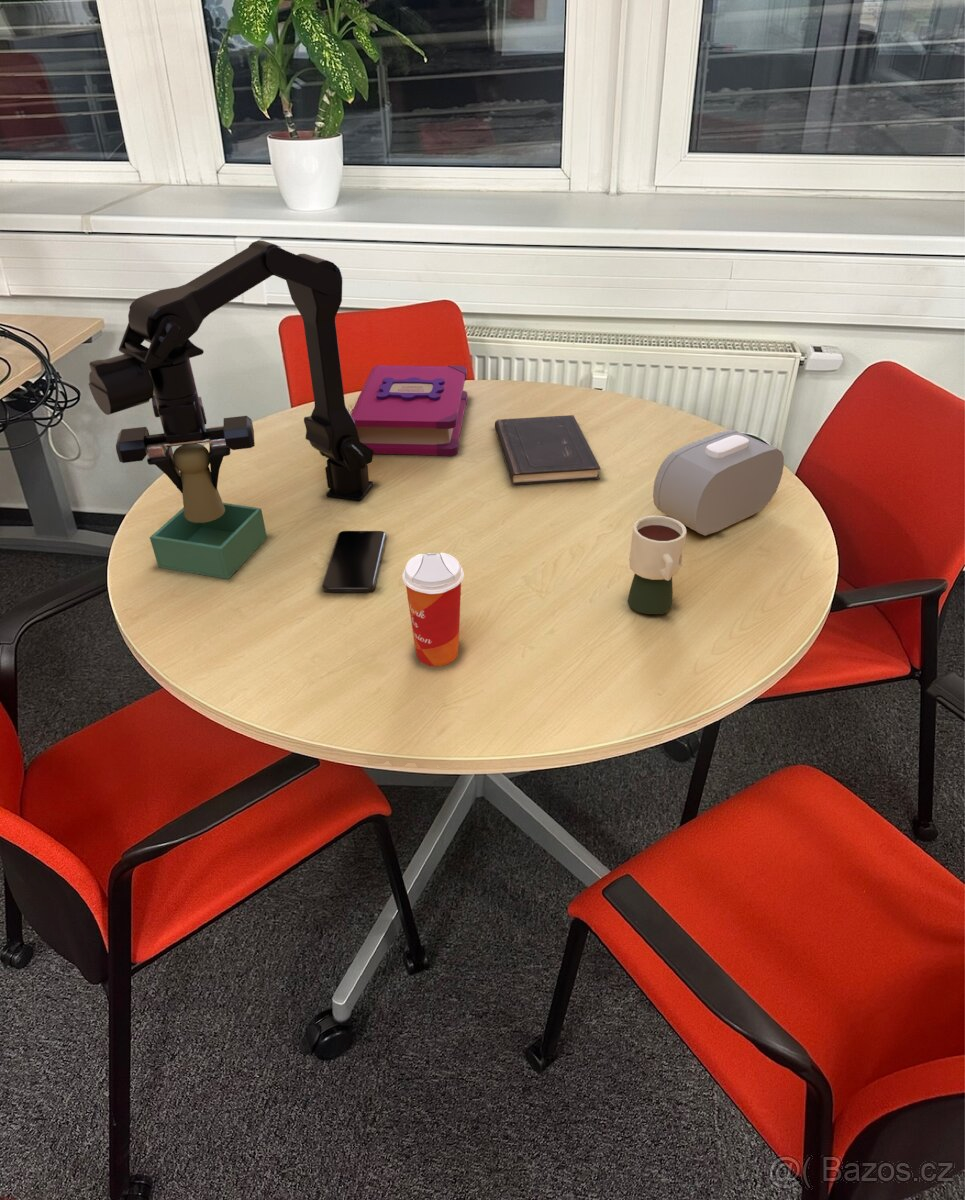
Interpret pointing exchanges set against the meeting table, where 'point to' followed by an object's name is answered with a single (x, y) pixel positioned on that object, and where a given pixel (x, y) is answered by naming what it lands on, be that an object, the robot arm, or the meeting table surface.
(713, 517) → the alarm clock
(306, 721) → the meeting table surface
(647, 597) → the character mug
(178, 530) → the tote
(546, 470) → the hardcover book
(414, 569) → the paper cup
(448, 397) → the book
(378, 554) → the smartphone
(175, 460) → the brown pawn
